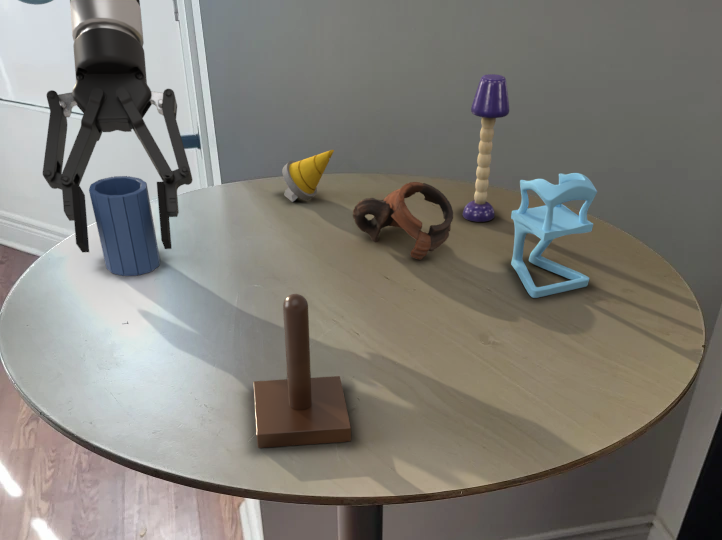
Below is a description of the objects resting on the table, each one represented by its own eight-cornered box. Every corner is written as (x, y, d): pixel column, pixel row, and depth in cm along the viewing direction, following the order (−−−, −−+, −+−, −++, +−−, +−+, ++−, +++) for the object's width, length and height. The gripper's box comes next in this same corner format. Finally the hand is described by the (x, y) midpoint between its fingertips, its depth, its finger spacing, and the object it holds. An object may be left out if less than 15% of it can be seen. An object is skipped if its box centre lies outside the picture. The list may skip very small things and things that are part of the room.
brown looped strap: (421, 225, 102) (450, 179, 95) (435, 284, 98) (467, 241, 92) (336, 212, 96) (361, 162, 90) (349, 274, 93) (375, 228, 86)
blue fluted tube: (104, 277, 88) (86, 198, 82) (109, 253, 92) (92, 176, 86) (158, 274, 89) (144, 196, 83) (160, 251, 93) (148, 175, 87)
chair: (547, 256, 95) (566, 154, 87) (589, 286, 89) (613, 180, 81) (494, 267, 92) (508, 163, 84) (533, 298, 87) (552, 191, 79)
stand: (258, 448, 66) (245, 323, 58) (254, 394, 72) (242, 274, 64) (351, 441, 67) (351, 318, 59) (340, 388, 73) (339, 269, 65)
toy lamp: (453, 212, 104) (466, 74, 93) (480, 205, 106) (496, 69, 94) (475, 225, 101) (491, 84, 90) (503, 217, 103) (522, 79, 92)
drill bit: (296, 189, 110) (345, 144, 104) (300, 218, 108) (351, 175, 102) (267, 170, 106) (316, 123, 100) (270, 201, 104) (321, 155, 98)
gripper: (208, 64, 91) (224, 254, 91) (21, 66, 89) (35, 262, 88) (202, 23, 84) (219, 229, 83) (-3, 24, 81) (13, 237, 81)
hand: (124, 246), depth 86 cm, fingers open, 8 cm apart
